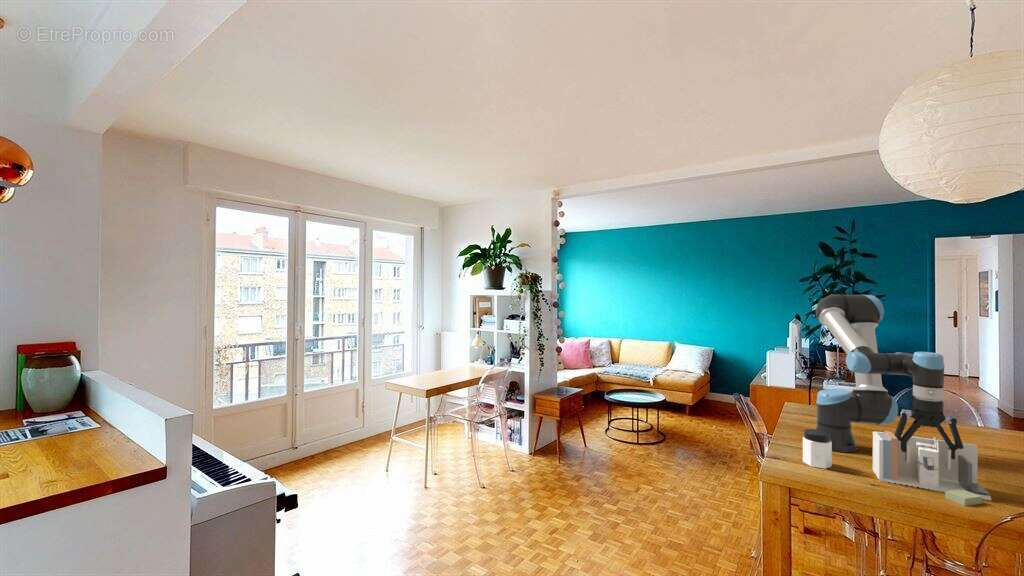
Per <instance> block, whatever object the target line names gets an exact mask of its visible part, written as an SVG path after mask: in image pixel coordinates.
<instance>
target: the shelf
mask: <svg viewBox="0 0 1024 576" xmlns="http://www.w3.org/2000/svg"><path fill="white" fill-rule="evenodd" d="M894 434H895V433H893V432H892V431H890V430H884V432H883V431H882V432H881V431H874V430H873V431H872V471H873V473H874V475H875V474H876V475H875V476H876V477H877V480H878V479H879V480H878V481H879V482H883V481H884V482H883V483H888V482H890V483H889V484H894V483H896V484H895V485H900V484H902V485H901V486H905V485H908V486H907V487H911V486H913V487H912V488H917V487H919V489H923V488H924V489H923V490H928V489H929V490H930V491H935V492H939V493H945V491H951V490H959V489H963V490H966V489H965V488H964V487H963V486H962V485H961V484H960V483H959V482H958V455H961V456H963V457H965V458H966V459H967V460H968V461H969V462H970V463H972V483H977V484H979V482H978V481H979V480H978V464H979V463H978V460H979V459H978V456H979V455H978V454H979V453H978V452H979V451H978V449H979V448H978V447H979V446H978V445H977V444H973V443H966V442H962V445H963V449H957V450H956V451H955V459H951V470H950V469H947V468H946V467H945V447H948V448H949V446H948V445H947V443H946V442H945V440H944V439H937V438H936V440H937V441H938V446H939V487H934V486H929V485H924V484H919V481H918V478H917V476H916V442H920V443H925V444H931V445H934V438H927V437H920V436H914V435H912V437H911V438H910V439H909V440H908V443H909V444H910V463H907V462H906V461H905V452H902V450H901V441H899V440H898V439H897V437H896V436H895V435H894ZM903 435H904V434H902V435H901V437H902V436H903ZM951 442H952V443H953V444H955V442H954V441H952V440H951ZM936 444H937V443H936ZM966 491H967V490H966ZM971 493H974V492H971ZM974 494H977V495H979V496H982V500H986V501H992V496H991V495H985V494H980V493H974Z"/></svg>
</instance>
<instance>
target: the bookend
mask: <svg viewBox="0 0 1024 576" xmlns="http://www.w3.org/2000/svg"><path fill="white" fill-rule="evenodd" d="M958 482H959V483H960V484H961V485H962V486H963V487H964V488H965V489H966V490H967V491H969V492H974V493H980V494H985V495H989V496H991V493H990V492H989V491H988V490H986V489H985V488H984V487H983V486H982V485H981V484H980V483H978V484H977V483H972V463H970V462H969V461H968V460H967V459H966V458H965V457H963V456H961V455H958Z"/></svg>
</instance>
